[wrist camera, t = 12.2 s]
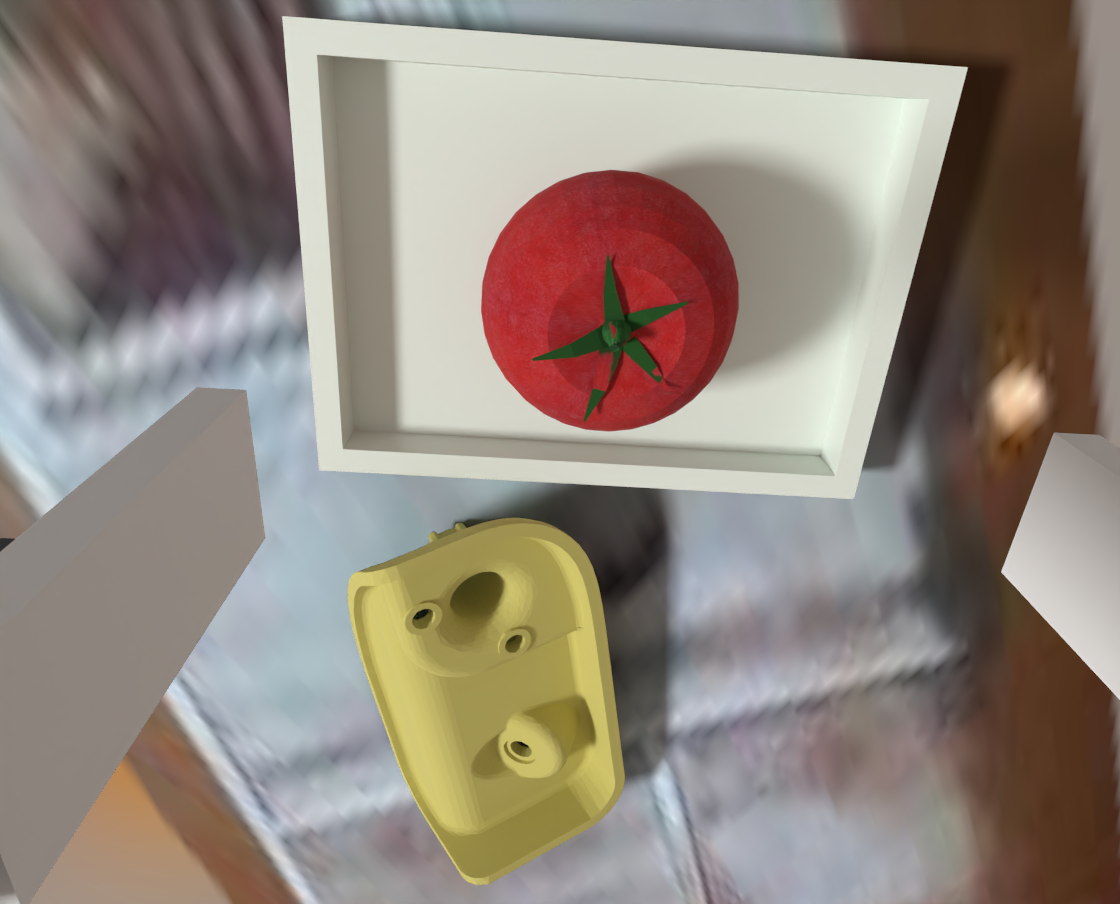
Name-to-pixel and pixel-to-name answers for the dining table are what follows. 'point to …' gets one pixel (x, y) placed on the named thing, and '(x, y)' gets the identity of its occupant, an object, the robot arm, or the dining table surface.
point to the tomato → (610, 300)
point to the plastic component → (494, 688)
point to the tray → (588, 146)
